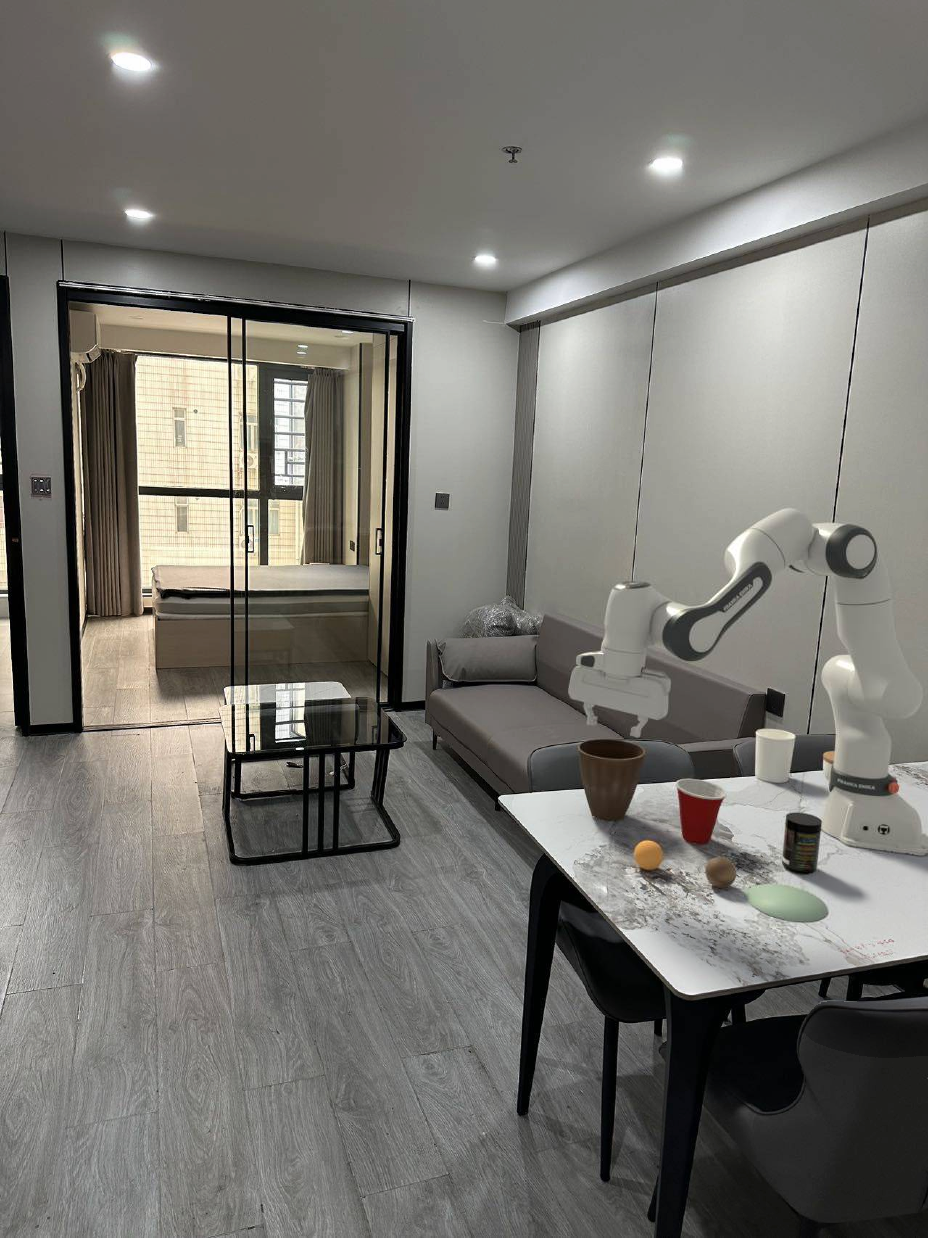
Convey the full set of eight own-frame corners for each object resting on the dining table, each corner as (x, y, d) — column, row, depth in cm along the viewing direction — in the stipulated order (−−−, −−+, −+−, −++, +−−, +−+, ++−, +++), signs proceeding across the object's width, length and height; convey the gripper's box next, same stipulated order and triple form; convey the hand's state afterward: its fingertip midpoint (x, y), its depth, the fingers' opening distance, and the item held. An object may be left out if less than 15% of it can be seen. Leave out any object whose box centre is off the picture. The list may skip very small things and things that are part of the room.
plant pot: (627, 834, 186) (632, 763, 183) (564, 819, 193) (567, 750, 190) (649, 812, 199) (653, 746, 196) (588, 799, 206) (592, 735, 203)
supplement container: (824, 874, 169) (829, 823, 168) (795, 877, 167) (800, 826, 166) (801, 859, 176) (806, 811, 174) (774, 862, 174) (778, 813, 172)
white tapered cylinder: (770, 786, 220) (774, 740, 218) (744, 773, 229) (747, 730, 227) (799, 781, 224) (804, 737, 222) (772, 770, 232) (776, 727, 231)
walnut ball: (737, 884, 164) (740, 856, 163) (731, 896, 159) (734, 867, 158) (708, 877, 166) (710, 849, 165) (701, 888, 161) (703, 860, 161)
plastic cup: (725, 852, 178) (730, 797, 176) (672, 846, 180) (676, 792, 178) (721, 832, 188) (725, 780, 186) (670, 827, 190) (674, 775, 189)
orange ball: (665, 866, 170) (667, 840, 169) (657, 877, 165) (659, 850, 164) (638, 860, 173) (639, 833, 172) (629, 870, 168) (631, 843, 167)
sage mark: (831, 897, 160) (831, 896, 160) (822, 929, 148) (822, 928, 147) (753, 878, 166) (753, 877, 166) (739, 908, 154) (739, 907, 154)
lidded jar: (875, 791, 218) (879, 756, 217) (840, 794, 215) (843, 758, 214) (845, 777, 228) (848, 743, 227) (811, 780, 225) (814, 746, 224)
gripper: (678, 671, 165) (668, 740, 168) (583, 651, 176) (575, 716, 179) (666, 675, 160) (656, 746, 162) (569, 654, 171) (561, 721, 173)
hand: (613, 730), depth 171 cm, fingers open, 8 cm apart
